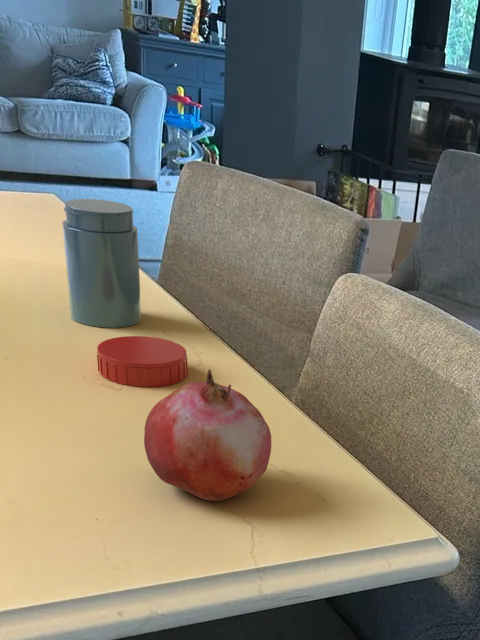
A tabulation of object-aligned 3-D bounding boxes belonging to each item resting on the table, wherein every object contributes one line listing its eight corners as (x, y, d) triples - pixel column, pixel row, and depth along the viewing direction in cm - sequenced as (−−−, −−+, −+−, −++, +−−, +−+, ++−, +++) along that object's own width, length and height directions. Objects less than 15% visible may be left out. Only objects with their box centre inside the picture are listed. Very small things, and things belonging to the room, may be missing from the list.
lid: (142, 352, 93) (141, 330, 92) (205, 374, 91) (204, 352, 89) (79, 369, 87) (77, 346, 86) (144, 393, 84) (143, 370, 83)
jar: (61, 322, 98) (50, 206, 91) (82, 304, 104) (73, 194, 98) (131, 331, 98) (125, 217, 92) (148, 312, 105) (144, 204, 98)
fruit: (158, 458, 73) (153, 338, 68) (274, 469, 74) (278, 352, 69) (132, 508, 65) (125, 378, 60) (263, 520, 67) (266, 393, 61)
